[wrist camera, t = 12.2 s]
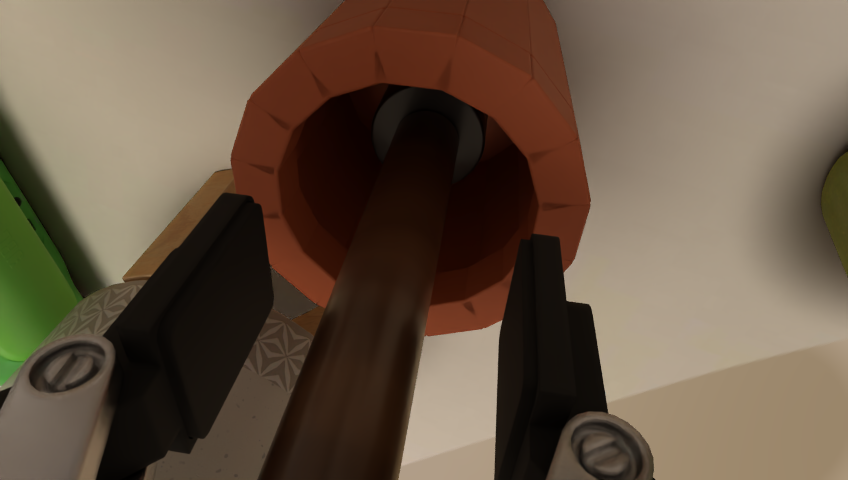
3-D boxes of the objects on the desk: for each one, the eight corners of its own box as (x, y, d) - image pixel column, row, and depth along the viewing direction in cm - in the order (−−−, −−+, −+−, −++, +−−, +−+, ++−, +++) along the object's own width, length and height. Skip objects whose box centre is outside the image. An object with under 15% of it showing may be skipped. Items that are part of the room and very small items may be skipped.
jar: (463, -117, 18) (420, -74, 10) (605, 89, 21) (658, 244, 13) (291, 53, 22) (165, 179, 14) (433, 202, 25) (395, 373, 17)
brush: (450, 12, 20) (302, 421, 6) (509, 89, 21) (499, 562, 7) (378, 73, 21) (138, 500, 8) (438, 141, 23) (323, 604, 9)
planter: (114, 187, 27) (-315, 569, 13) (357, 148, 24) (137, 594, 10) (226, 363, 35) (27, 731, 20) (425, 350, 31) (351, 774, 17)
